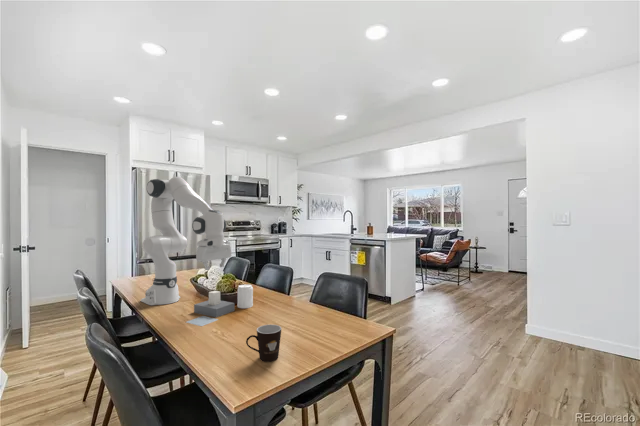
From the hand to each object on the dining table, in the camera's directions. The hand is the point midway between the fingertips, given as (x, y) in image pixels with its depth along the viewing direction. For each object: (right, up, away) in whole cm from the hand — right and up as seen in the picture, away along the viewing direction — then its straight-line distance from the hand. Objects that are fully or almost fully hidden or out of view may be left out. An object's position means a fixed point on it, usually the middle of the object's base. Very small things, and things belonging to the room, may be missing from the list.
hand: (214, 268), depth 153 cm
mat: (-1, -23, -14) cm, 27 cm away
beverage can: (+13, -24, +9) cm, 29 cm away
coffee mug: (+35, -22, -49) cm, 64 cm away
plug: (0, -22, 0) cm, 22 cm away
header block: (0, -23, 0) cm, 23 cm away
